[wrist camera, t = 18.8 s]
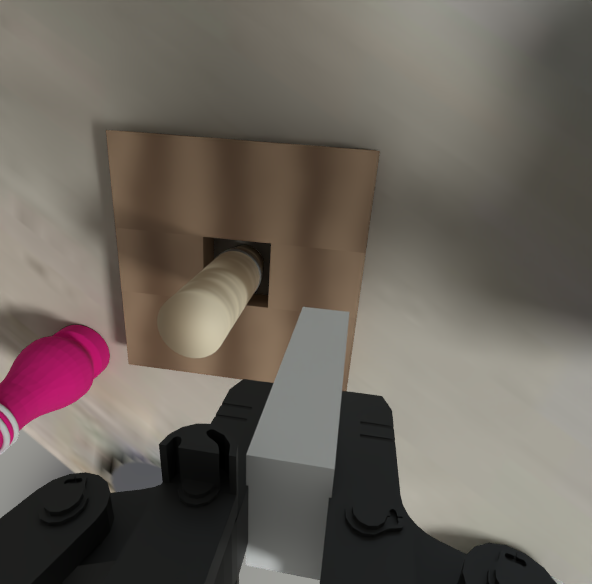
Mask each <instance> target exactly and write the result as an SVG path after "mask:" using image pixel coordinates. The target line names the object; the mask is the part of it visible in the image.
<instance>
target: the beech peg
mask: <svg viewBox="0 0 592 584" xmlns="http://www.w3.org/2000/svg"><path fill="white" fill-rule="evenodd" d="M263 268H264V261H263V258H262V256H261V254H260V253H259V252H258V251H257V250H256V249H255V248H253V247H251V246H248V245H240V246H237V247H235V248H230V249H227V250H225V251H224V252H222V253H220V254H219V255H218V256H217V257H216V258H215V259H214V260H213V261H212V262H211V263H210V264H209V265H207V266H206V267H205V268H204V269H203V270H202V271H201V272H199V273H198V274H197V275H196V276H195V277H194V278H193V279H191V280H190V281H189V282H188V283H187V284H186V285H185V286H183V287H182V288H181V289H180V290H179V291H178V292H177V293H175V294H174V295H173V296H172V297H171V298H170V299H169V300H167V301H166V302H165V303H164V304H163V306H162V307H161V308H160V311H159V313H158V317H157V326H158V331H159V333H160V336H161V338H162V339H163V341H164V342H165V343H166V345H167V346H168V347H169V348H171V349H172V350H173V351H175V352H176V353H178V354H180V355H182V356H185V357H189V358H203V357H207V356H209V355H211V354H213V353H214V352H216V351H217V350H218V349H219V347H220V346H221V344H222V343H223V341H224V340H225V338H226V337H227V335H228V333H229V332H230V330H231V329H232V327H233V325H234V324H235V322H236V321H237V319H238V318H239V316H240V314H241V313H242V311H243V310H244V308H245V306H246V305H247V303H248V302H249V300H250V298H251V297H252V295H253V294H254V292H255V291H256V290H257V288H258V287H259V285H260V283H261V280H262V275H263Z"/></svg>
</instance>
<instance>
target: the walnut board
mask: <svg viewBox="0 0 592 584" xmlns="http://www.w3.org/2000/svg"><path fill="white" fill-rule="evenodd" d="M106 137H107V147H108V157H109V167H110V178H111V188H112V198H113V208H114V218H115V229H116V239H117V249H118V259H119V269H120V280H121V290H122V300H123V310H124V321H125V331H126V341H127V351H128V361H129V364H132V365H139V366H147V367H154V368H161V369H169V370H176V371H184V372H191V373H198V374H206V375H213V376H221V377H228V378H235V379H248V380H256V381H263V382H270V383H274V381H275V378H276V376H277V373H278V370H279V368H280V365H281V363H282V360H283V357H284V355H285V352H286V350H287V347H288V344H289V342H290V339H291V337H292V334H293V331H294V329H295V326H296V324H297V321H298V318H299V316H300V313H301V311H302V308H303V307H309V308H318V309H327V310H336V311H346V312H349V322H348V333H347V343H346V354H345V364H344V375H343V385H342V391H346V390H347V383H348V376H349V369H350V361H351V354H352V347H353V340H354V333H355V325H356V318H357V311H358V304H359V297H360V290H361V282H362V275H363V268H364V261H365V254H366V247H367V239H368V232H369V225H370V218H371V211H372V203H373V196H374V189H375V182H376V175H377V168H378V160H379V153H380V151H377V150H364V149H351V148H339V147H326V146H313V145H300V144H287V143H274V142H261V141H248V140H235V139H222V138H209V137H196V136H183V135H170V134H157V133H144V132H131V131H113V130H106ZM214 238H222V239H232V240H242V241H252V242H261V243H271V255H270V276H269V295H262V294H253V295H252V297H251V298H250V300H249V302H248V303H247V305H246V306H245V308H244V310H243V311H242V313H241V314H240V316H239V318H238V319H237V321H236V322H235V324H234V325H233V327H232V329H231V330H230V332H229V333H228V335H227V337H226V338H225V340H224V341H223V343H222V344H221V346H220V347H219V349H218V350H217V351H216V352H214V353H213V354H211V355H209V356H207V357H203V358H189V357H185V356H182V355H180V354H178V353H176V352H175V351H173V350H172V349H171V348H169V347H168V346H167V345H166V343H165V342H164V341H163V339H162V338H161V336H160V333H159V331H158V326H157V317H158V313H159V311H160V308H161V307H162V306H163V304H164V303H165V302H166V301H167V300H169V299H170V298H171V297H172V296H173V295H174V294H175V293H177V292H178V291H179V290H180V289H181V288H182V287H183V286H185V285H186V284H187V283H188V282H189V281H190V280H191V279H193V278H194V277H195V276H196V275H197V274H198V273H199V272H201V271H202V270H203V269H204V268H205V267H206V266H207V265H209V264H210V263H211V262H212V261H213V260H214Z"/></svg>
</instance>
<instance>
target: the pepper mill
mask: <svg viewBox="0 0 592 584" xmlns="http://www.w3.org/2000/svg"><path fill="white" fill-rule="evenodd" d="M109 358H110V354H109V349H108V346H107V344H106V342H105V341H104V339H103V338H102V337H101V336H100V335H99V334H98V333H97V332H95V331H94V330H93V329H90V328H88V327H85V326H82V325H70V326H67V327H65V328H63V329H62V330H60V331H58V332H57V333H55V334H54V335H53V336H50V337H43V338H40V339H38V340H36V341H34V342H32V343H31V344H30V345H29V346H27V347H26V348H25V349H24V350H22V352H21V353H20V354H19V355H18V357H17V358H16V359H15V361H14V363H13V365H12V367H11V369H10V371H9V373H8V374H7V376H6V377H5V379H4V380H3V381H2V382H1V383H0V454H2V453H4V452H5V451H6V450H7V448H8V447H9V446H11V445H12V444H14V443H15V441H16V440H17V438H18V436H19V431H20V430H21V429H22V428H23V427H24V426H25V425H26V424H28V423H29V422H30V421H32V420H33V419H35V418H37V417H39V416H41V415H44V414H46V413H49V412H52V411H55V410H58V409H61V408H64V407H66V406H68V405H70V404H72V403H73V402H75V401H77V400H78V399H79V398H81V397H82V396H83V395H84V394H86V393H87V391H88V390H89V388H90V387H91V385H92V383H93V379H94V378H96V377H97V376H98V375H99V374H100V373H101V372H102V371H103V370H104V369H105V368H106V367H107V365H108V363H109Z"/></svg>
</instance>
